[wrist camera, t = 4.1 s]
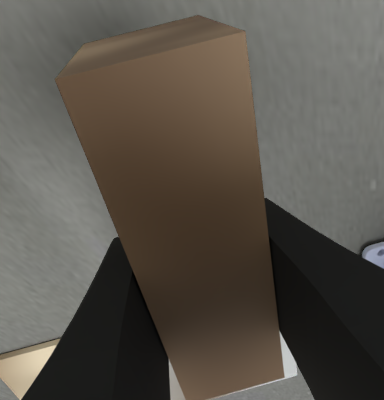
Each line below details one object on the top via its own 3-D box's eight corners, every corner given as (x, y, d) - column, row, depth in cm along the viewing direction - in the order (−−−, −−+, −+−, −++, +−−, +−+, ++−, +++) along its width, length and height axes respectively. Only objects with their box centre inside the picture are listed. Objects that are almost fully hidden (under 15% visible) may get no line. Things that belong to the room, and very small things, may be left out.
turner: (254, 0, 7) (338, 7, 5) (289, 357, 14) (331, 452, 11) (25, 58, 7) (-43, 104, 4) (171, 390, 14) (182, 495, 11)
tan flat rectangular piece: (149, 313, 22) (150, 319, 21) (190, 412, 28) (190, 417, 28) (-10, 357, 21) (-13, 363, 21) (67, 446, 28) (66, 452, 27)
